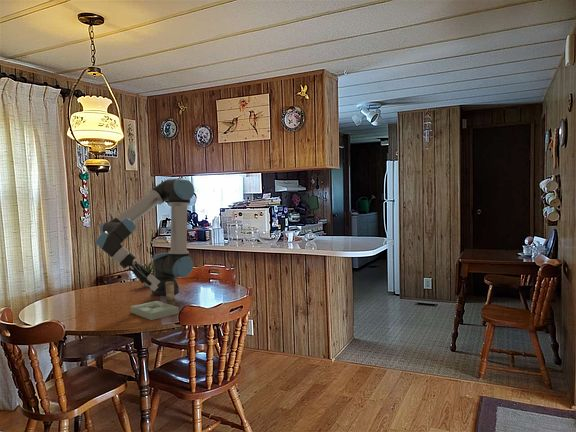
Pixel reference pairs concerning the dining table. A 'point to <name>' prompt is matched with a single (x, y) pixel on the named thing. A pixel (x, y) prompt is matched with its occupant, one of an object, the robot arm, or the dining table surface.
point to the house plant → (148, 269)
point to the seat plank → (154, 310)
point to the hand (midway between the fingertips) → (157, 286)
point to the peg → (170, 293)
